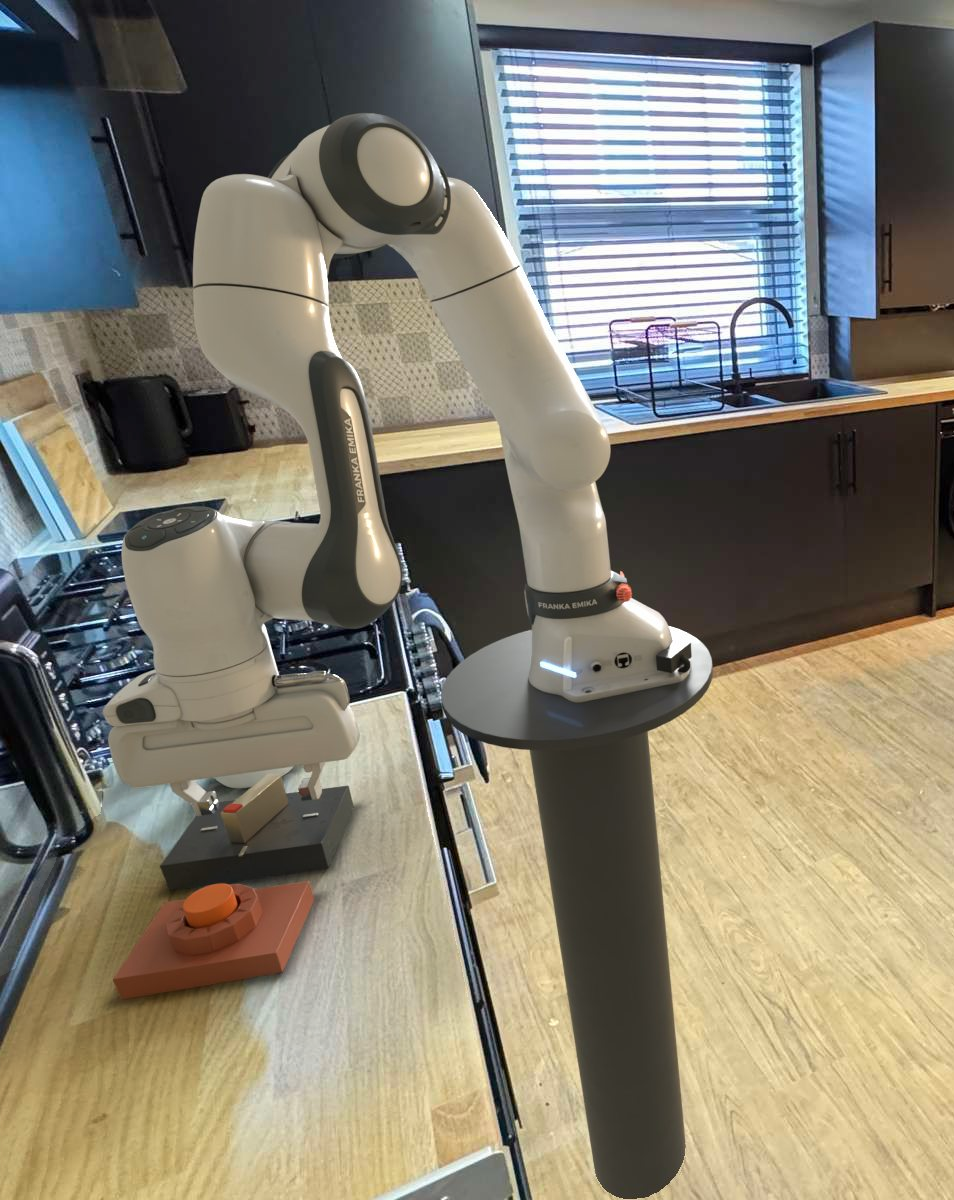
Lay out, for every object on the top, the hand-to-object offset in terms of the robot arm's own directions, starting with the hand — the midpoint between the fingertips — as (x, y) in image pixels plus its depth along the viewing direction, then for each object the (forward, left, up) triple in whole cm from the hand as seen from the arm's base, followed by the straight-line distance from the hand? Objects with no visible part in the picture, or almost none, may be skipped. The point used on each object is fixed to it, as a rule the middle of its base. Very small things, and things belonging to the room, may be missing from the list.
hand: (261, 804), depth 84 cm
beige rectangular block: (+1, 0, -2) cm, 2 cm away
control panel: (+1, 0, -5) cm, 5 cm away
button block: (0, +14, -5) cm, 15 cm away
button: (0, +14, -2) cm, 14 cm away
